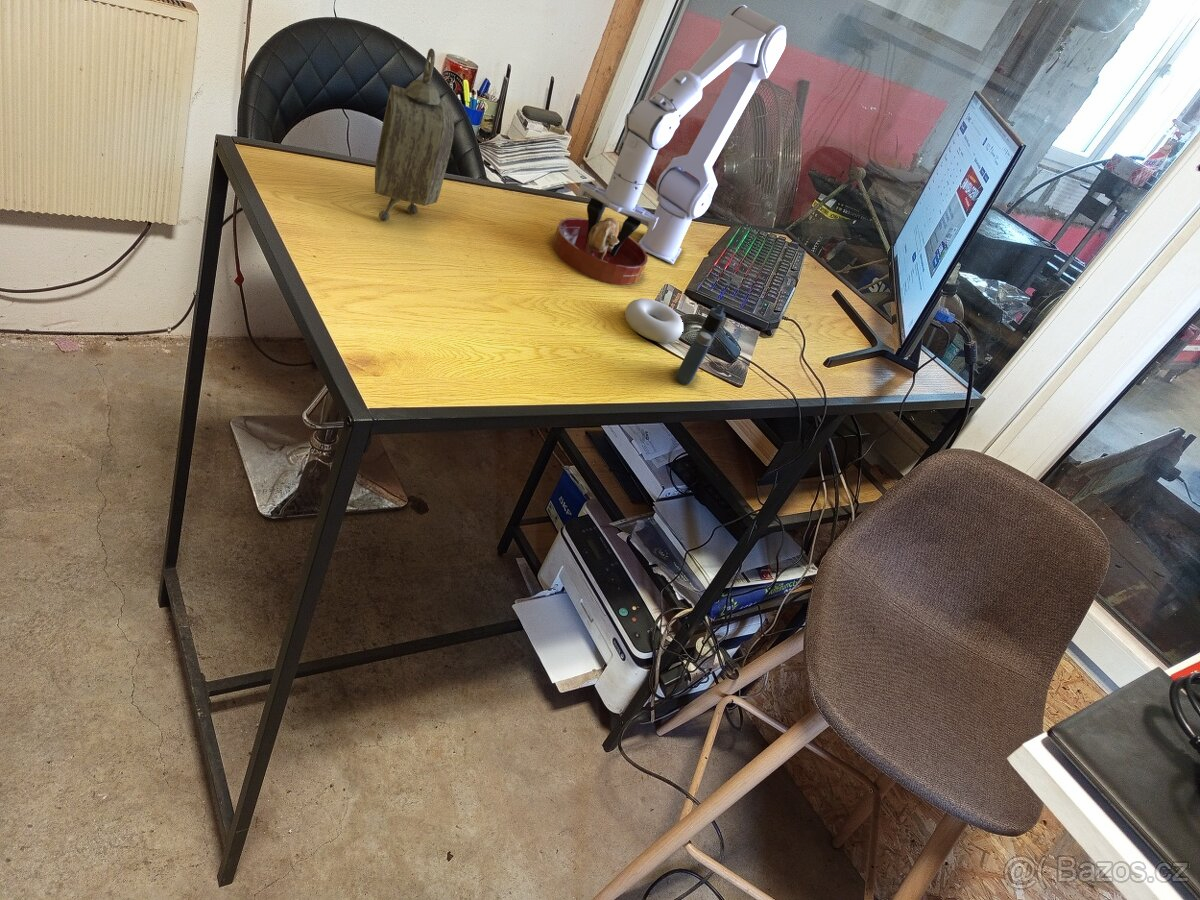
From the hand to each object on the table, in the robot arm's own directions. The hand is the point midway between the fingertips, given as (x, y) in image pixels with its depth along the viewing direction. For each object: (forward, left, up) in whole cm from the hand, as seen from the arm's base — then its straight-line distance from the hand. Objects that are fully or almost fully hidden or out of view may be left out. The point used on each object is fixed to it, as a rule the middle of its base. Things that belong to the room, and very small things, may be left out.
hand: (601, 248), depth 138 cm
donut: (+17, +14, -2) cm, 22 cm away
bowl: (0, 0, -2) cm, 2 cm away
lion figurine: (+1, 0, -2) cm, 2 cm away
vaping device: (+27, +22, -2) cm, 35 cm away
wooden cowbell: (+18, -31, -2) cm, 35 cm away
